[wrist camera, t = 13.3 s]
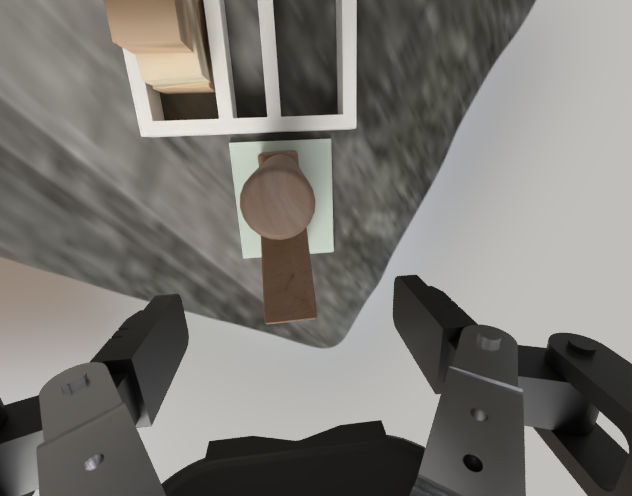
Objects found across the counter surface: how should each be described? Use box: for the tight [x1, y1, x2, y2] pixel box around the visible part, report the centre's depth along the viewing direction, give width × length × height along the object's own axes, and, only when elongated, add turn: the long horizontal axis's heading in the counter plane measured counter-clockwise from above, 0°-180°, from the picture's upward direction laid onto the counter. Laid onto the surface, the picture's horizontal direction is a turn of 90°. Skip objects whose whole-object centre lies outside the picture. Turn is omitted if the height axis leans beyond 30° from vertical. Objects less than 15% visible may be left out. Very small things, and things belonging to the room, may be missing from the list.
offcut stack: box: [104, 0, 216, 94], centre depth 23 cm, size 9×5×9 cm, turn 3°
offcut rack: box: [123, 0, 357, 137], centre depth 24 cm, size 16×19×9 cm
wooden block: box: [240, 150, 317, 324], centre depth 24 cm, size 4×11×18 cm, turn 4°
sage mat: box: [229, 139, 334, 258], centre depth 33 cm, size 12×10×1 cm
